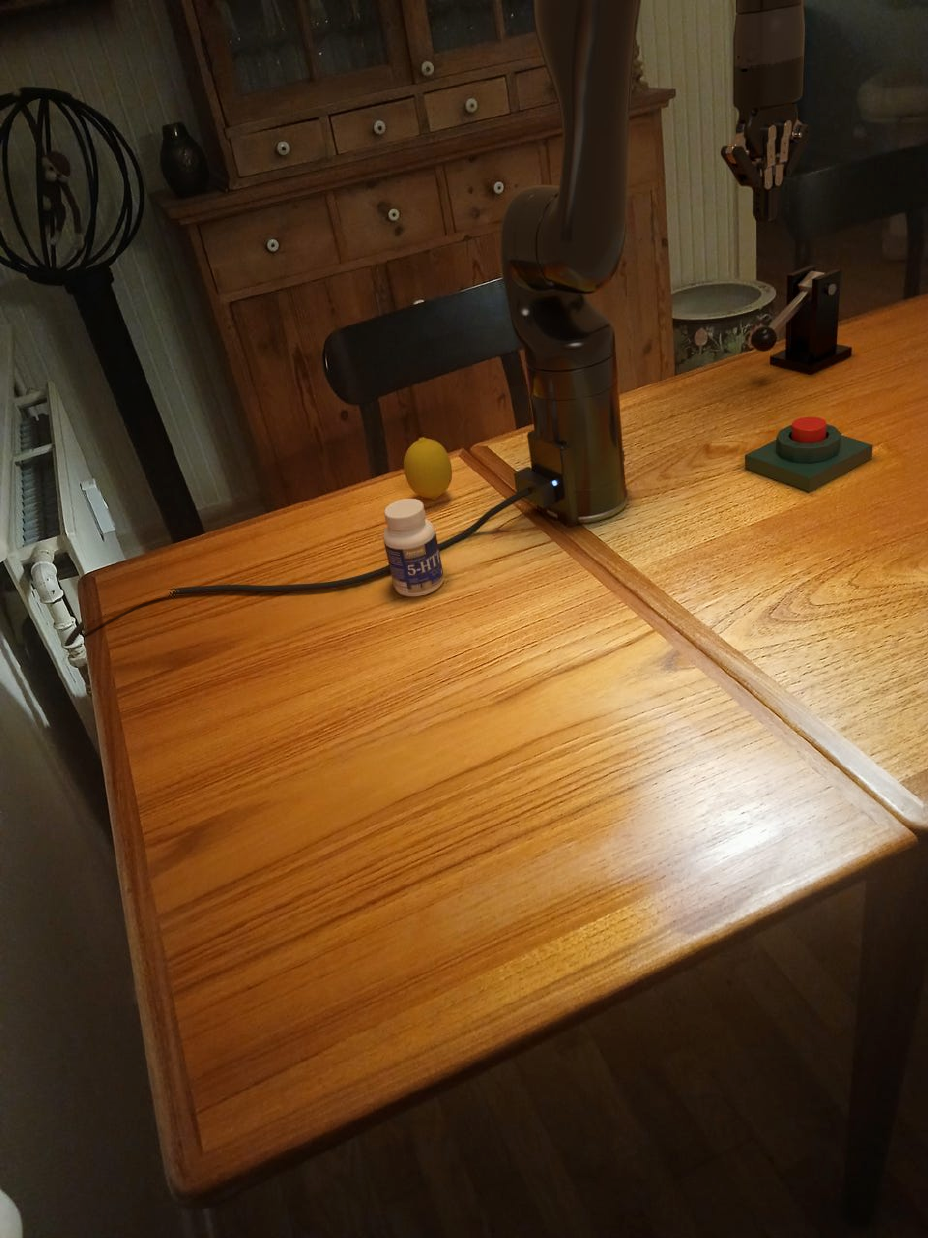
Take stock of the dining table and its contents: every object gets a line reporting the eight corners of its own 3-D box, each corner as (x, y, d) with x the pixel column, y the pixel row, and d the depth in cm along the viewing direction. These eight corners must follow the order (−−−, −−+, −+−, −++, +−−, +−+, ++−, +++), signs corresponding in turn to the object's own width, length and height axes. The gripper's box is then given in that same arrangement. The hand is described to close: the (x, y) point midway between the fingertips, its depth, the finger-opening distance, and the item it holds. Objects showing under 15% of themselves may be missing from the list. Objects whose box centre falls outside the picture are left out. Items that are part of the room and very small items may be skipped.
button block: (809, 492, 101) (810, 462, 99) (744, 468, 107) (744, 439, 105) (871, 458, 104) (874, 429, 102) (805, 437, 111) (806, 409, 109)
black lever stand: (810, 374, 126) (814, 284, 119) (769, 364, 131) (771, 277, 124) (851, 355, 129) (857, 266, 122) (809, 346, 134) (813, 260, 127)
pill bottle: (415, 603, 95) (398, 526, 90) (384, 587, 99) (366, 512, 94) (455, 579, 98) (440, 503, 93) (423, 564, 101) (407, 490, 96)
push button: (810, 448, 102) (811, 433, 101) (783, 439, 105) (784, 424, 104) (833, 436, 103) (834, 421, 102) (806, 428, 106) (807, 413, 105)
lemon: (435, 485, 117) (423, 424, 112) (466, 495, 113) (455, 433, 109) (402, 504, 114) (388, 443, 109) (433, 515, 110) (420, 452, 106)
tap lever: (768, 359, 123) (761, 340, 121) (750, 354, 125) (742, 335, 123) (833, 290, 124) (827, 270, 122) (813, 286, 127) (807, 267, 124)
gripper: (783, 46, 111) (779, 204, 120) (700, 68, 106) (702, 231, 115) (836, 43, 105) (828, 208, 115) (751, 66, 100) (750, 237, 110)
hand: (765, 219), depth 115 cm, fingers closed
